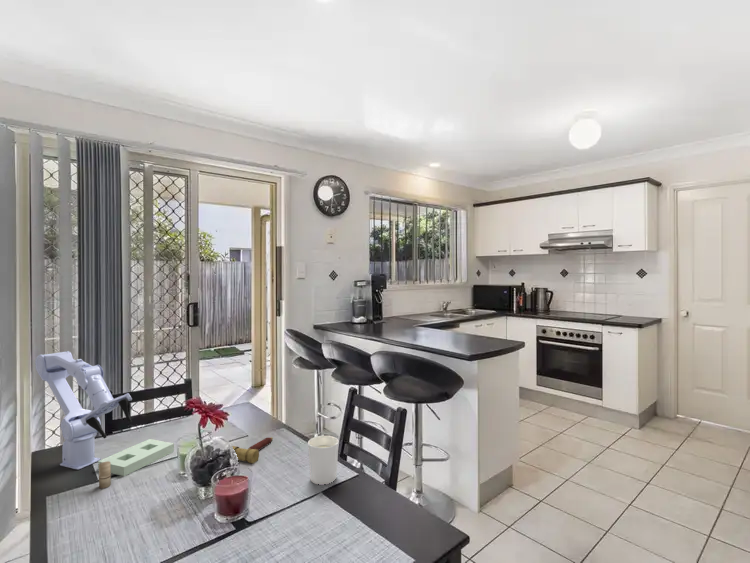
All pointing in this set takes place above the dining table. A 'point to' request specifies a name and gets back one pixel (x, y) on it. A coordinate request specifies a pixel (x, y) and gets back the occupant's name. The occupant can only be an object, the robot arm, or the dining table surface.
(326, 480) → the candle holder
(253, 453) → the gavel
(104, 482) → the maple peg
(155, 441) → the hole board
